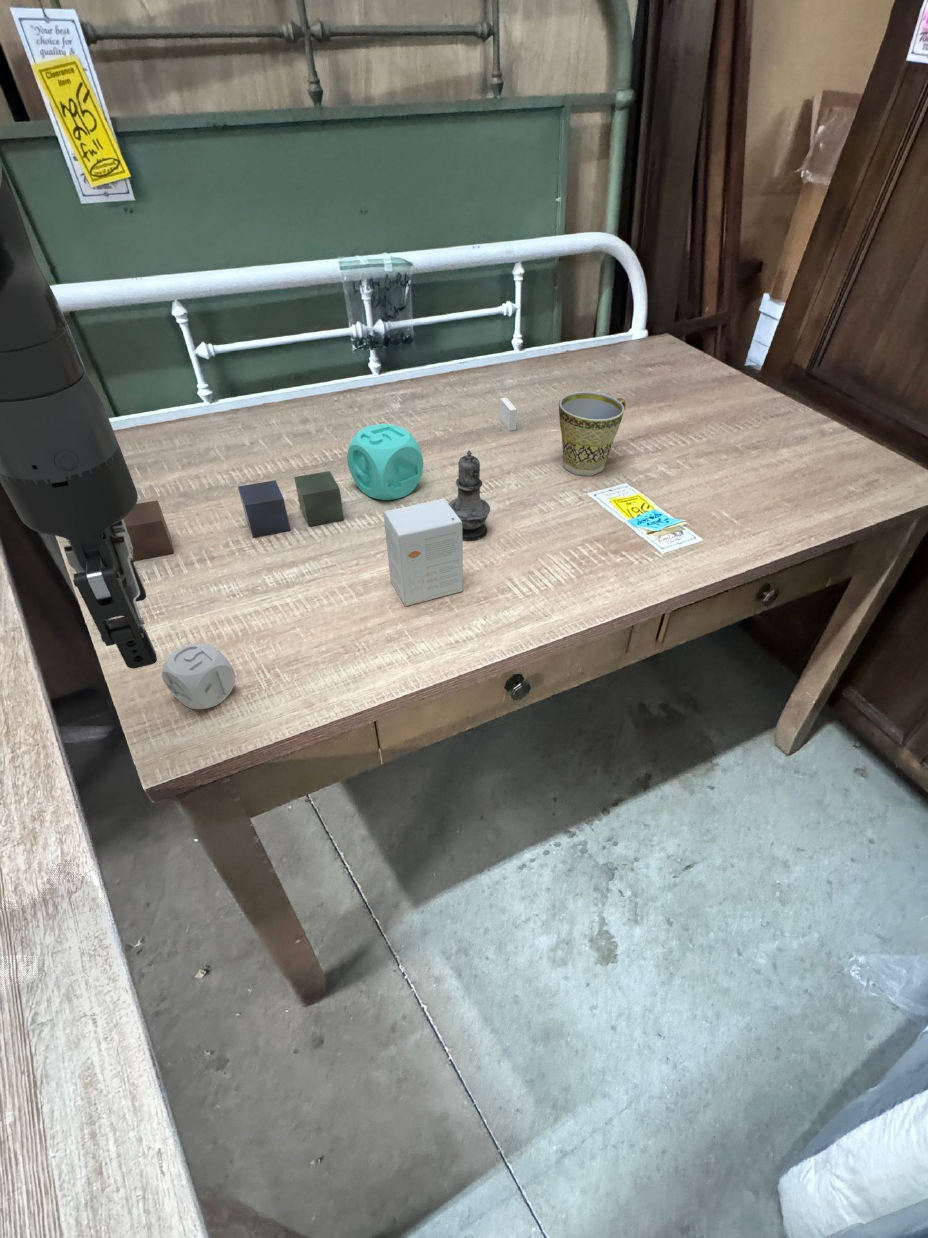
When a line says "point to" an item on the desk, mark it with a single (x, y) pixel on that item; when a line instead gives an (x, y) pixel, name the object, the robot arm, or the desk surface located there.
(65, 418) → the robot arm
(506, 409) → the eraser
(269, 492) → the row of mixed cubes
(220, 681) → the die
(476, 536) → the black chess piece
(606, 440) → the ceramic cup
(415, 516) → the small box
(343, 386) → the desk surface
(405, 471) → the decorative dice
